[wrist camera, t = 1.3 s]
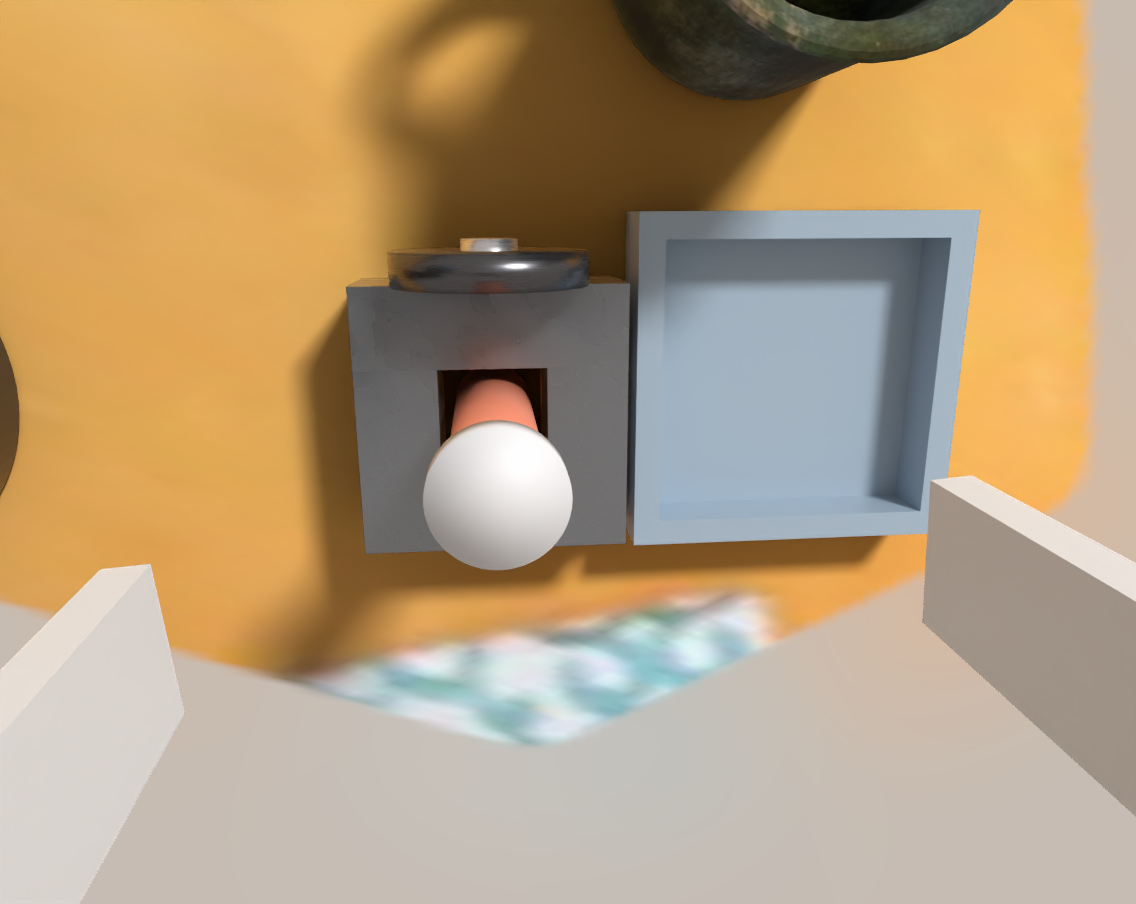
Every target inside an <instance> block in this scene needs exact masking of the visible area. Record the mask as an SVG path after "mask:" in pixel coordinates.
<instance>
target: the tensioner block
mask: <svg viewBox="0 0 1136 904" xmlns="http://www.w3.org/2000/svg"><path fill="white" fill-rule="evenodd" d="M387 259H388V275H389V278H362V279H360V280H358V281H356V282H354V283H352V284H350V285H348V286H347V287H346V293H347V307H348V321H349V334H350V348H351V362H352V375H353V389H354V403H355V416H356V430H357V444H358V457H359V471H360V485H361V498H362V512H363V526H364V539H365V553H366V554H375V553H400V552H425V551H445V550H444V549H443V548H442V547H441V546H440V544H439V543H438V542H437V541H436V539H435V538H434V536H433V535H432V533H431V531H430V529H429V527H428V524H427V522H426V518H425V514H424V508H423V493H424V486H425V481H426V477H427V473H428V469H429V466H430V464H431V461H432V459H433V457H434V456H435V454H436V452H437V451H438V449H439V448H440V447H441V446H442V445H443V443H444V442H445V441H446V434H445V411H444V389H443V370H469V369H517V368H540V375H541V434H542V435H543V436H544V437H546V438H547V439H548V440H549V441H550V442H551V443H552V444H553V445H554V447H555V448H556V449H557V451H558V452H559V454H560V456H561V458H562V459H563V461H564V464H565V467H566V470H567V473H568V476H569V479H570V482H571V487H572V497H573V501H572V510H571V515H570V519H569V522H568V524H567V527H566V529H565V531H564V533H563V534H562V536H561V537H560V539H559V540H558V542H557V543H556V544H555V545H554V546H575V545H600V544H625V543H626V494H627V431H628V367H629V304H630V283H628V282H625V281H623V280H621V279H619V278H617V277H615V276H589V250H588V249H581V248H564V247H518V238H461V239H460V247H440V248H414V249H399V250H390V251H387Z"/></svg>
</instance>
